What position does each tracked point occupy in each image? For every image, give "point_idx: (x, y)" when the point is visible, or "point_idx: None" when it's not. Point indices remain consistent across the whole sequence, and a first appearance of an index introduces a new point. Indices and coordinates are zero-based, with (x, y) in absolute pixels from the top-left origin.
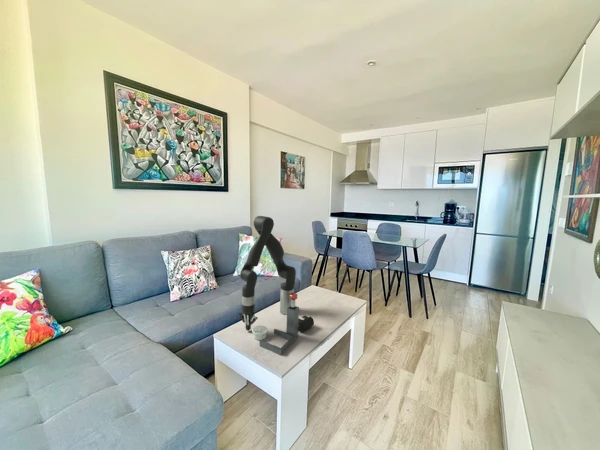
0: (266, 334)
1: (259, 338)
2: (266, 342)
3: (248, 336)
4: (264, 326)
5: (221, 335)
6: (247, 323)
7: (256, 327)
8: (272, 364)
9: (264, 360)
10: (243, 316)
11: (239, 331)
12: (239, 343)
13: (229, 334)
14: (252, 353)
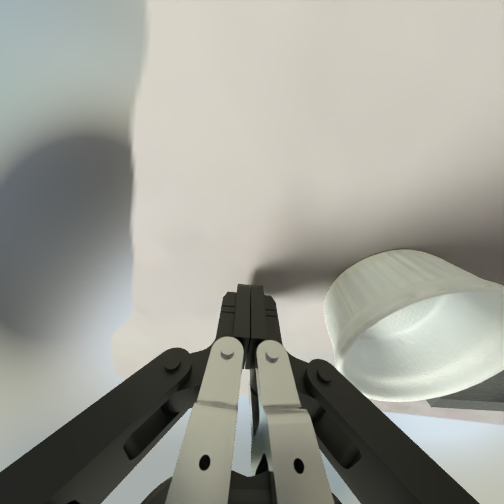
0: (473, 318)
1: (399, 347)
2: (489, 404)
3: (290, 329)
4: (487, 291)
5: (122, 374)
6: (254, 396)
7: (362, 324)
8: (488, 414)
9: (447, 411)
10: (97, 481)
11: (183, 311)
12: None
13: (153, 355)
14: (377, 403)
